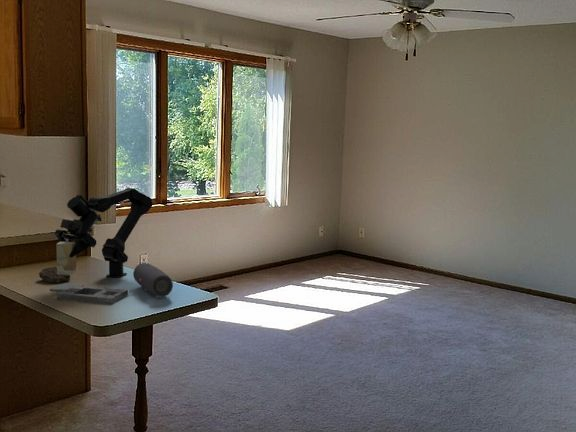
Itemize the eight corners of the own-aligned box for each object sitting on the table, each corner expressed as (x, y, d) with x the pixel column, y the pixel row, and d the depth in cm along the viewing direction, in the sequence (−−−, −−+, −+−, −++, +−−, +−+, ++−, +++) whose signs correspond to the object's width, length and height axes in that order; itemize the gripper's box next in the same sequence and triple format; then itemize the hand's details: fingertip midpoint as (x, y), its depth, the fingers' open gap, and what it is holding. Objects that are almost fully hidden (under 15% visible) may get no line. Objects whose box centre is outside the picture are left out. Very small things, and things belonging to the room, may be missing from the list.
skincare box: (56, 274, 235) (55, 243, 234) (61, 272, 240) (59, 241, 238) (73, 274, 235) (71, 243, 233) (77, 272, 240) (75, 241, 238)
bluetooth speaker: (131, 287, 242) (131, 262, 240) (154, 284, 246) (154, 260, 245) (149, 302, 222) (149, 275, 221) (174, 298, 227) (174, 272, 226)
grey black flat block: (75, 290, 235) (75, 285, 235) (128, 295, 231) (127, 289, 230) (57, 299, 224) (57, 293, 224) (111, 303, 219) (111, 298, 219)
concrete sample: (37, 280, 251) (36, 268, 250) (61, 276, 258) (61, 264, 257) (47, 285, 243) (46, 273, 242) (72, 281, 249) (71, 269, 248)
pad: (63, 284, 244) (63, 283, 244) (83, 286, 242) (83, 284, 242) (49, 290, 235) (49, 288, 235) (70, 292, 233) (70, 290, 233)
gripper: (56, 209, 242) (34, 241, 234) (89, 213, 232) (66, 246, 225) (73, 225, 250) (52, 257, 242) (106, 230, 240) (84, 263, 233)
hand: (63, 255), depth 235 cm, fingers closed on skincare box, 7 cm apart
